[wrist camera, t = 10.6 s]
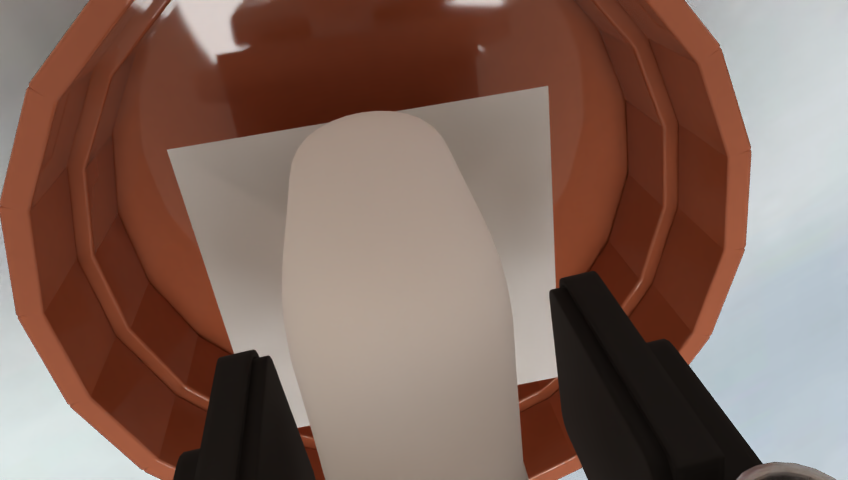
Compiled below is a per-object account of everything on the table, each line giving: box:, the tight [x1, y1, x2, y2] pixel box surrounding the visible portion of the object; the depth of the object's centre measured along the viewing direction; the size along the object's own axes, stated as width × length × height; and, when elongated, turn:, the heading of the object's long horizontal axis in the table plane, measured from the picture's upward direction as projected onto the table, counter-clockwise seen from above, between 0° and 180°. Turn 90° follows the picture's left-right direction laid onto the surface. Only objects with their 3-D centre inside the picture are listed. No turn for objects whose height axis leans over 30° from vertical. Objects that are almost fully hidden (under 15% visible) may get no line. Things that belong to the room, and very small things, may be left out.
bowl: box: [0, 0, 751, 480], centre depth 16 cm, size 15×15×5 cm
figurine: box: [167, 86, 558, 480], centre depth 11 cm, size 7×9×15 cm
